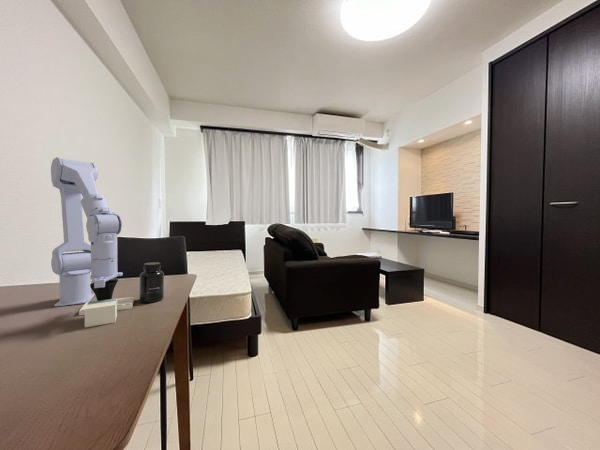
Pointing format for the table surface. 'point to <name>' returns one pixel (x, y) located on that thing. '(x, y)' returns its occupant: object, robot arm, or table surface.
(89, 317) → the teal striped cube
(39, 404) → the table surface
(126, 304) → the ticket
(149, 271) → the supplement bottle
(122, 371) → the table surface
